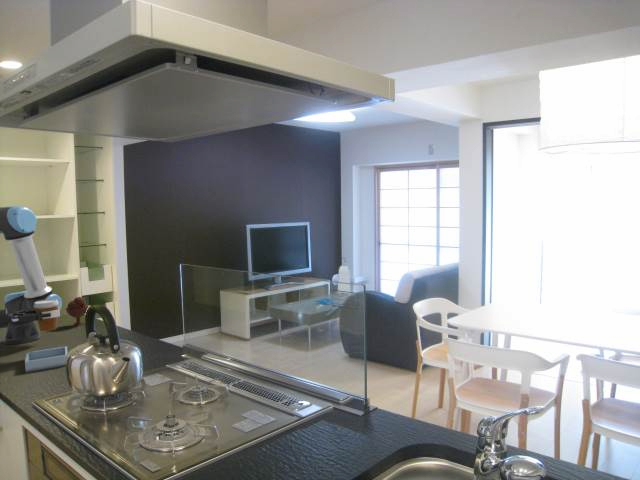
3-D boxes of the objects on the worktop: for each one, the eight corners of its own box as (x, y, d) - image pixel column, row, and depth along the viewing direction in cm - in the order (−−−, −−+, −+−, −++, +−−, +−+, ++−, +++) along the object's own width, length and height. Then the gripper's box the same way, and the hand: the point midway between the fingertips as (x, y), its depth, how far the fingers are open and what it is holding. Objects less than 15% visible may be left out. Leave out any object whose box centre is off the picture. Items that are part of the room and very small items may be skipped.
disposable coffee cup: (50, 332, 208) (47, 303, 207) (30, 332, 210) (27, 303, 209) (66, 326, 217) (63, 299, 216) (47, 326, 219) (44, 299, 218)
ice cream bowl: (86, 321, 274) (84, 294, 273) (92, 324, 265) (90, 296, 264) (65, 325, 267) (63, 297, 266) (70, 328, 259) (68, 300, 257)
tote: (27, 362, 204) (26, 352, 203) (67, 355, 211) (66, 346, 210) (25, 372, 191) (24, 362, 191) (68, 365, 198) (67, 355, 197)
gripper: (0, 323, 214) (60, 315, 225) (-5, 334, 196) (60, 324, 206) (-2, 305, 214) (58, 298, 224) (-7, 315, 195) (59, 306, 206)
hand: (59, 311), depth 215 cm, fingers closed on disposable coffee cup, 8 cm apart
